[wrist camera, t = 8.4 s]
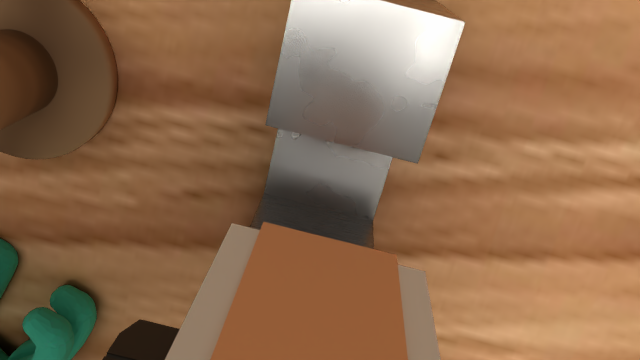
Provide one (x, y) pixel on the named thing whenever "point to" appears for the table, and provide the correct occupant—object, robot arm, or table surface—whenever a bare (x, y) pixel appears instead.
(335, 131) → the metal block
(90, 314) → the toy
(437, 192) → the table surface
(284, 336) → the orange brown block
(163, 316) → the table surface
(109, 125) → the table surface
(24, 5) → the bobbin
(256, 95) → the table surface
